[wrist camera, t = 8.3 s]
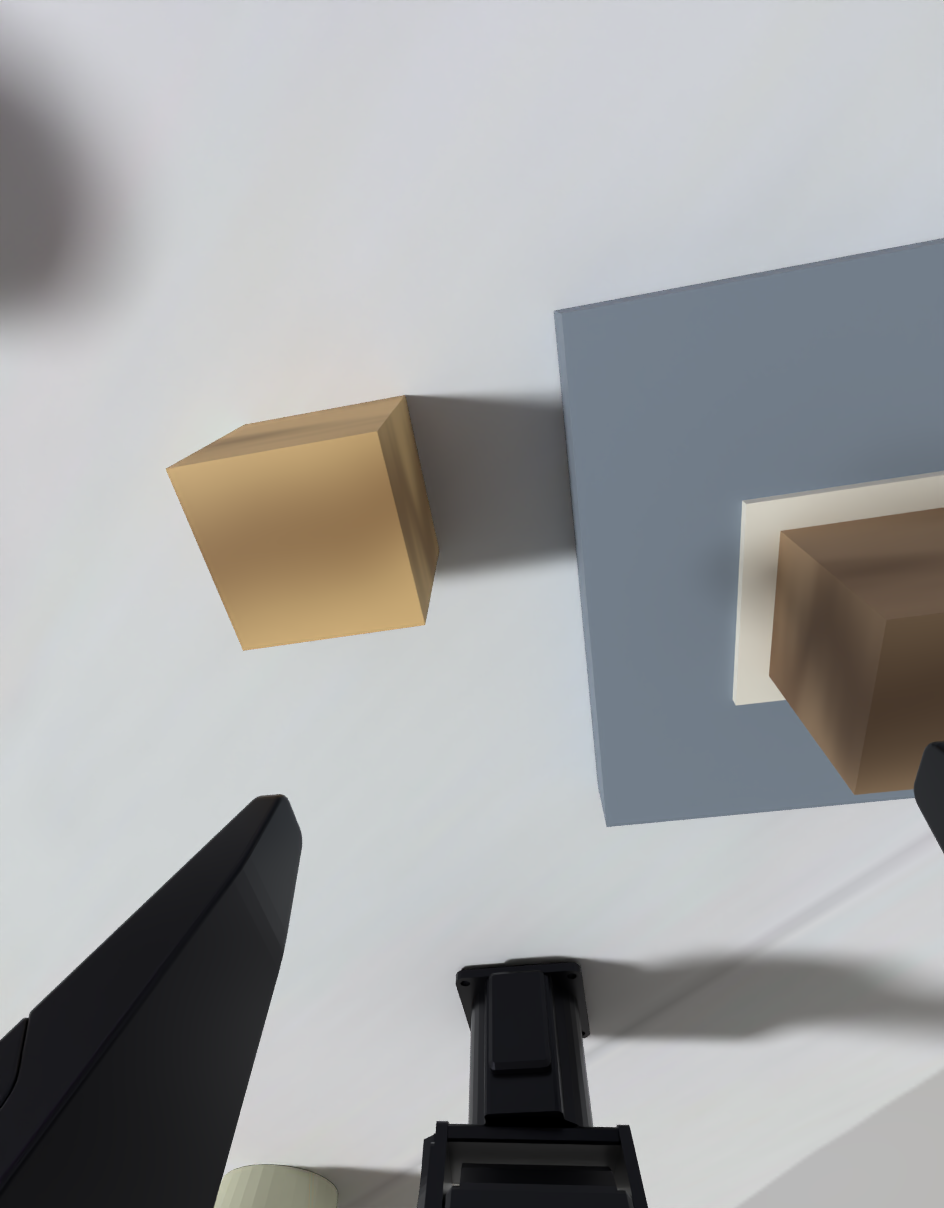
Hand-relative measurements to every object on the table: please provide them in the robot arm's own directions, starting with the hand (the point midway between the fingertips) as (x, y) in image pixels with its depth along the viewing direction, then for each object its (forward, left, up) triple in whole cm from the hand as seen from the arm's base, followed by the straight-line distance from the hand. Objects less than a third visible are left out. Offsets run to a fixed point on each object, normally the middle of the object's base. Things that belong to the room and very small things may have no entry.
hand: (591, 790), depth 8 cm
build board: (-3, -9, -12) cm, 15 cm away
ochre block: (+2, +6, -12) cm, 13 cm away
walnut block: (-3, -9, -10) cm, 14 cm away
